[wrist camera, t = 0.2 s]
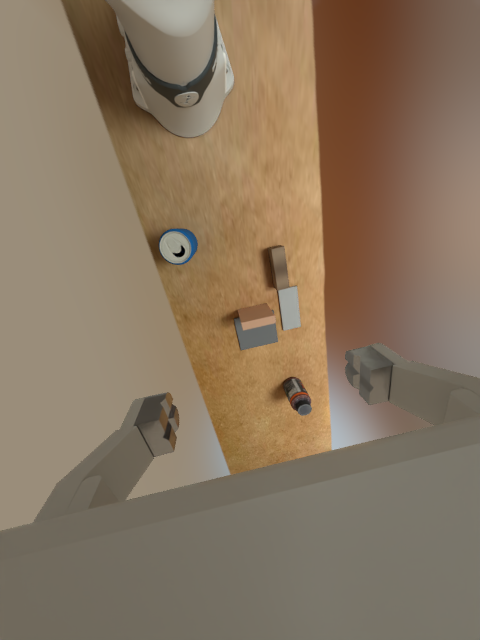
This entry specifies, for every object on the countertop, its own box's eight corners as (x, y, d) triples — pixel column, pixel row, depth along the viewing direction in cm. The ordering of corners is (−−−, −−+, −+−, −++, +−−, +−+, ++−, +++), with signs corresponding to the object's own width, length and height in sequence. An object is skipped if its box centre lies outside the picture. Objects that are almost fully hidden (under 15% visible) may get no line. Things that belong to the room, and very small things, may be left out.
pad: (277, 289, 58) (278, 290, 58) (296, 285, 58) (296, 286, 58) (283, 329, 63) (283, 330, 62) (299, 325, 63) (300, 326, 62)
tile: (237, 309, 59) (241, 322, 51) (266, 303, 59) (274, 315, 51) (239, 316, 60) (243, 331, 52) (267, 310, 60) (276, 323, 52)
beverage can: (183, 263, 53) (175, 272, 42) (163, 241, 51) (149, 245, 40) (203, 245, 52) (200, 250, 41) (183, 222, 50) (175, 220, 39)
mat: (233, 318, 60) (233, 319, 60) (273, 309, 60) (273, 310, 60) (240, 349, 64) (241, 350, 64) (277, 341, 64) (278, 341, 64)
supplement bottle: (303, 385, 72) (318, 411, 61) (287, 394, 72) (300, 422, 62) (295, 373, 69) (310, 398, 59) (279, 382, 70) (290, 409, 60)
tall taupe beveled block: (267, 247, 54) (271, 249, 50) (279, 245, 54) (284, 246, 50) (273, 286, 58) (277, 290, 54) (284, 284, 58) (289, 287, 54)
